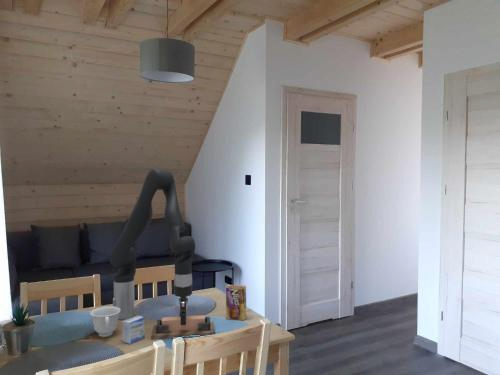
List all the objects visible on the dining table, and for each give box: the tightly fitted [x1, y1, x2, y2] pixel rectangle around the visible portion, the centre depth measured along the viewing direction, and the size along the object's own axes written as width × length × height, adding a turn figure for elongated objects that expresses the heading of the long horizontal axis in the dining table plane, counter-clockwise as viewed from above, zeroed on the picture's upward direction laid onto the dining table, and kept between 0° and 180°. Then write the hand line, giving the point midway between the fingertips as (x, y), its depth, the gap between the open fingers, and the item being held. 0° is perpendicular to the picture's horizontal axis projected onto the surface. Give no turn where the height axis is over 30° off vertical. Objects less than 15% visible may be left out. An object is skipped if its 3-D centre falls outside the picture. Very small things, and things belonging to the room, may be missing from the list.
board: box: [150, 316, 216, 340], centre depth 175 cm, size 26×12×4 cm, turn 98°
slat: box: [161, 314, 206, 331], centre depth 175 cm, size 18×4×4 cm, turn 98°
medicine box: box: [121, 315, 146, 345], centre depth 167 cm, size 8×4×9 cm, turn 148°
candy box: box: [225, 284, 247, 321], centre depth 191 cm, size 9×4×15 cm, turn 79°
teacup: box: [89, 305, 120, 338], centre depth 171 cm, size 12×15×10 cm
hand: (183, 321), depth 175 cm, fingers open, 8 cm apart
